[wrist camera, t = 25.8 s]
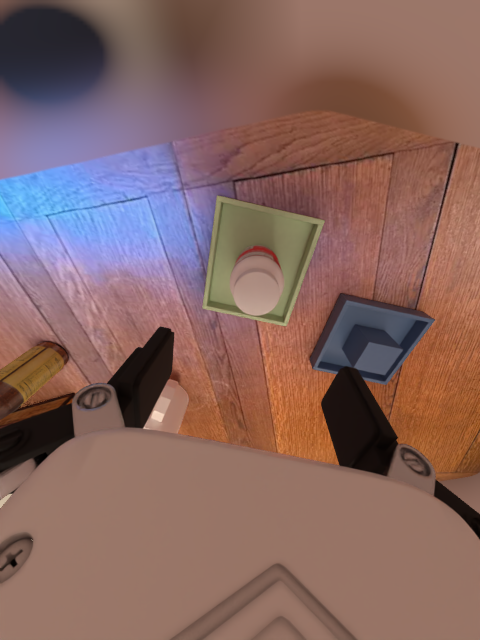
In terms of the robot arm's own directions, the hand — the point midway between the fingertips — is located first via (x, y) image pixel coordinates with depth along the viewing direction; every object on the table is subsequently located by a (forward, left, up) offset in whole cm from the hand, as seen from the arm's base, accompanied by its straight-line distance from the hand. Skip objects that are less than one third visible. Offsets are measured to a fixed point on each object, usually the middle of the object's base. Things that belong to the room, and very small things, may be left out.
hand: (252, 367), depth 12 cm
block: (+8, +20, -22) cm, 31 cm away
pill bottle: (0, 0, -22) cm, 22 cm away
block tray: (+8, +20, -22) cm, 31 cm away
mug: (+31, -12, -22) cm, 40 cm away
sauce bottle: (+26, -35, -22) cm, 49 cm away
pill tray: (0, 0, -22) cm, 22 cm away
